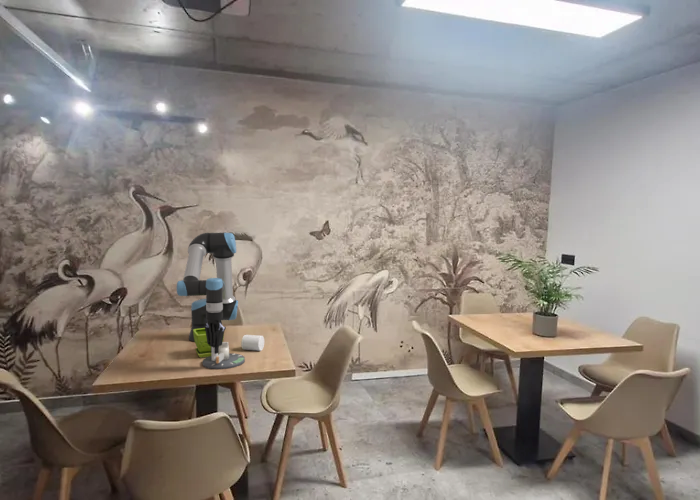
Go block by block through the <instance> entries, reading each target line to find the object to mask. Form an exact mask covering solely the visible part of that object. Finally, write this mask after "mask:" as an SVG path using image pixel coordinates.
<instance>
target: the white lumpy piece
mask: <svg viewBox="0 0 700 500" xmlns="http://www.w3.org/2000/svg"><path fill="white" fill-rule="evenodd" d="M229 353H230V346H229V341H223V342H222V345H221V346H219V355H218V356H217V357H216V363H220V362H221V361H225V360H228V359H229Z"/></svg>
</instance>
